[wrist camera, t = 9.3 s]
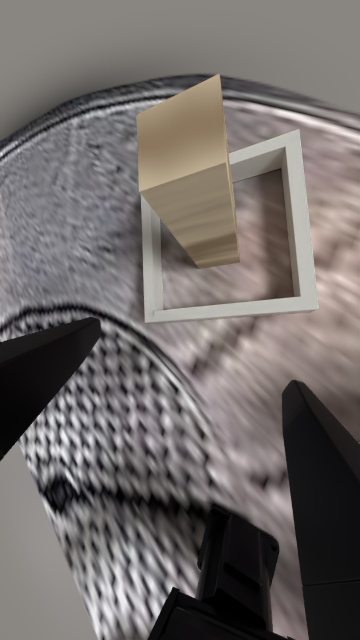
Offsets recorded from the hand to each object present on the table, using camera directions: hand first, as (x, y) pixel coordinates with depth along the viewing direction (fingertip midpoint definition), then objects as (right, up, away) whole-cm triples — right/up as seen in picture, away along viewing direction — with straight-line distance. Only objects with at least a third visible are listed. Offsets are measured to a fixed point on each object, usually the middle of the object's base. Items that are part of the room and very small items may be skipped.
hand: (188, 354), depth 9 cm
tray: (+4, +10, +13) cm, 17 cm away
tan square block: (+4, +10, +13) cm, 17 cm away
